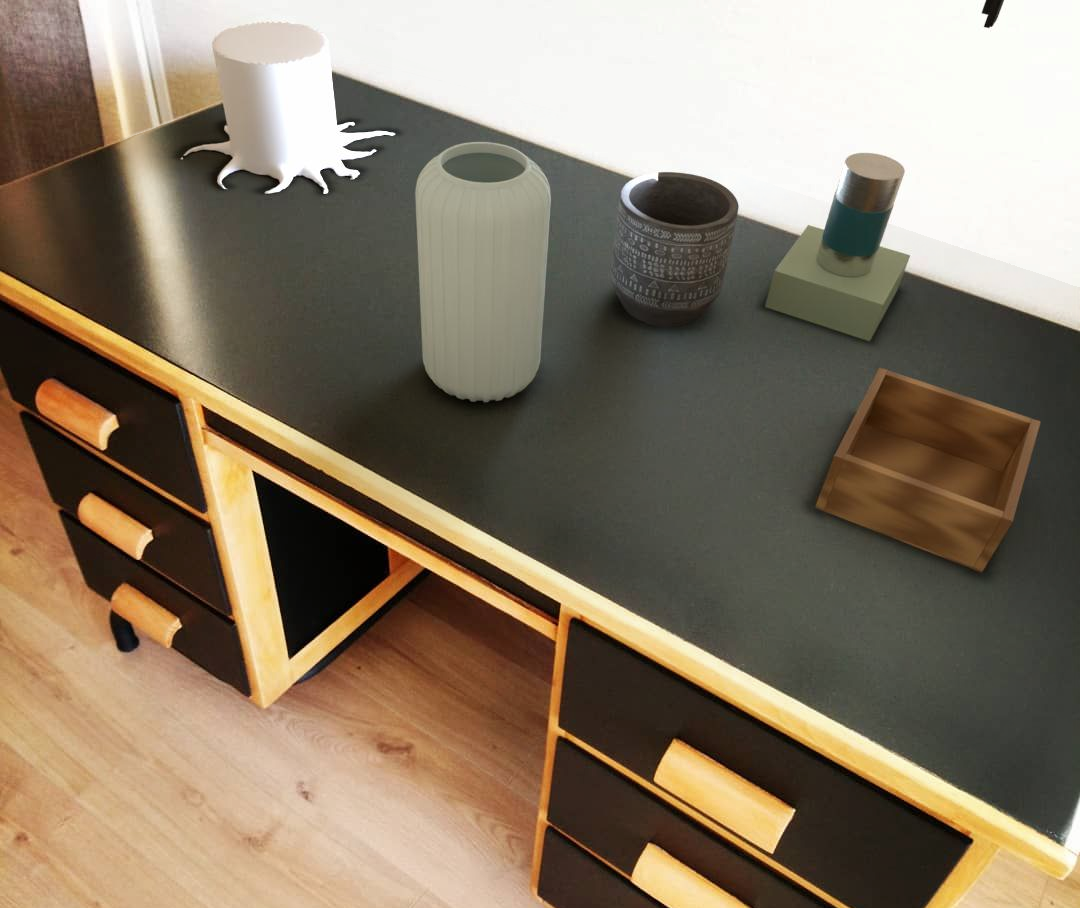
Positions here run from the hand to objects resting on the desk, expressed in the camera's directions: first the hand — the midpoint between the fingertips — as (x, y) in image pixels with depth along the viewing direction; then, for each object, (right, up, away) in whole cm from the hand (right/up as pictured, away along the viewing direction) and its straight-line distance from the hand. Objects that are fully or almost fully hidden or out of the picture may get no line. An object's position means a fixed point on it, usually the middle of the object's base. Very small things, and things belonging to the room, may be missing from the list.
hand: (1041, 35), depth 88 cm
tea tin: (-14, -17, +15) cm, 27 cm away
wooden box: (-13, -43, -3) cm, 45 cm away
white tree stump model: (-82, +4, +37) cm, 90 cm away
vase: (-53, -32, +5) cm, 62 cm away
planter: (-34, -22, +16) cm, 43 cm away
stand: (-14, -20, +19) cm, 31 cm away
